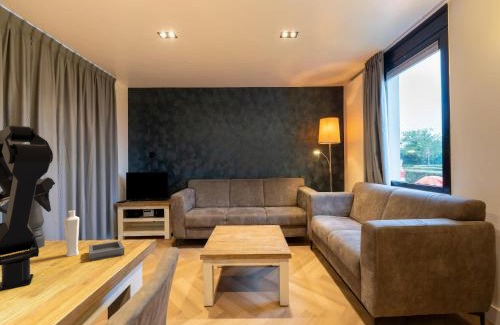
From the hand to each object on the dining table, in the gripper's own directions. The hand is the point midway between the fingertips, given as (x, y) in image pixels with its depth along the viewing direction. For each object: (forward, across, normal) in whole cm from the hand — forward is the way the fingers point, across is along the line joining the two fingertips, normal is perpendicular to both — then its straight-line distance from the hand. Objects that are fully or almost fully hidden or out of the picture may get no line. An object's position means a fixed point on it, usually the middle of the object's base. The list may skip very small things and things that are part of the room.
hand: (36, 215), depth 86 cm
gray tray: (+21, -13, +1) cm, 25 cm away
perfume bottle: (+18, -2, 0) cm, 18 cm away
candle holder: (+16, +17, -10) cm, 25 cm away
